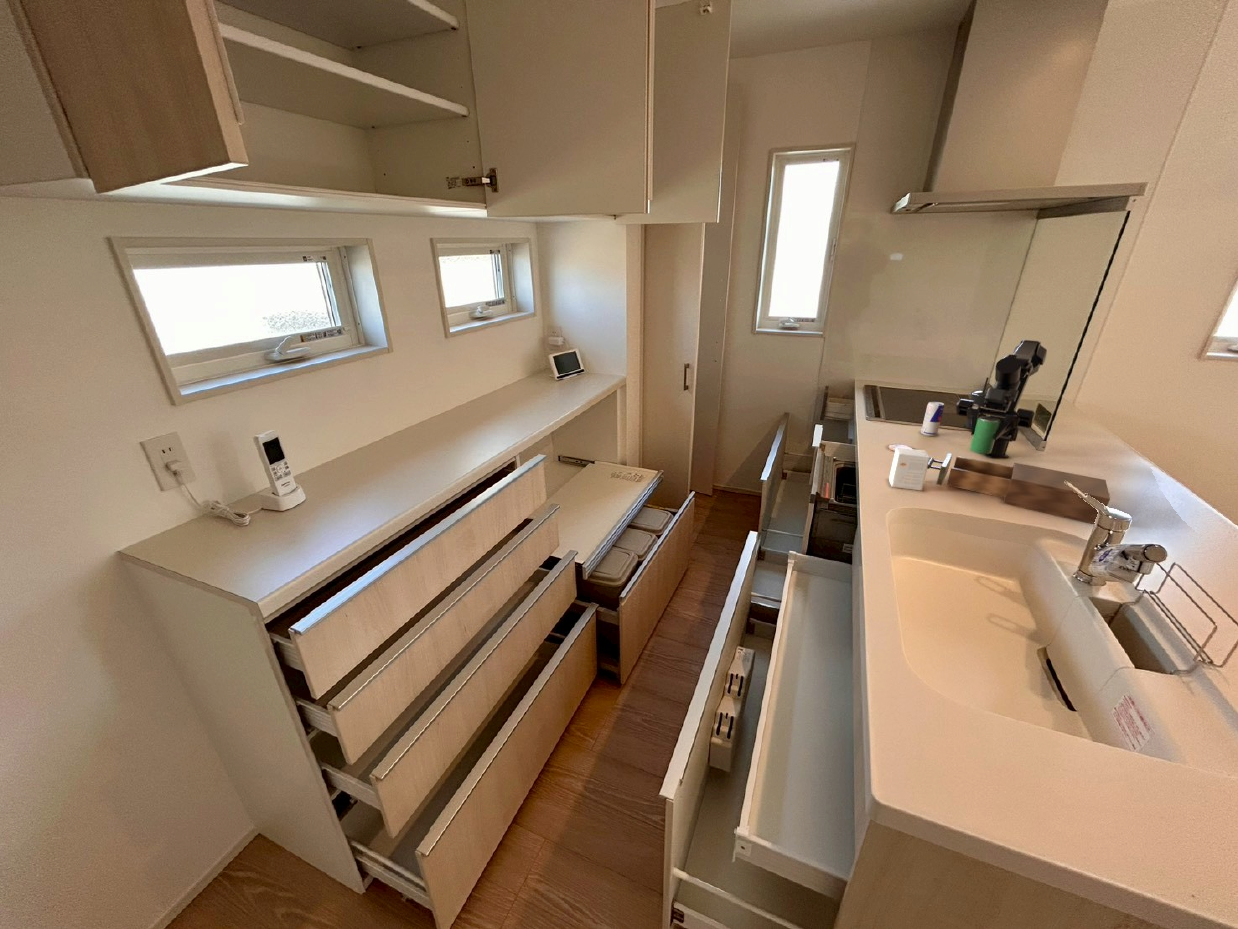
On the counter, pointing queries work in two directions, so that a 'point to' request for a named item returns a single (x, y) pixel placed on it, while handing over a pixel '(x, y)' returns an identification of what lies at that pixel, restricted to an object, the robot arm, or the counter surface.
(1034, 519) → the counter surface
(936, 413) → the energy drink
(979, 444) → the green can
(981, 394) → the drinking cup
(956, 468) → the drawer
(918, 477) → the small box
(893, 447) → the coaster
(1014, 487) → the cabinet
